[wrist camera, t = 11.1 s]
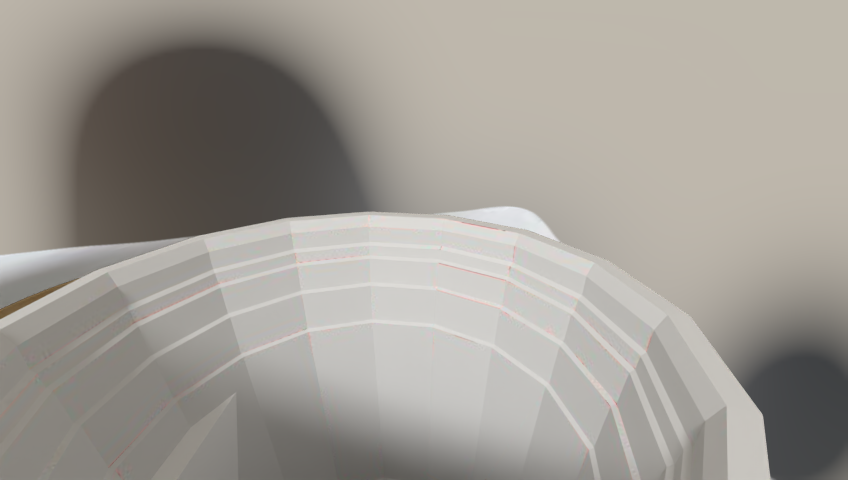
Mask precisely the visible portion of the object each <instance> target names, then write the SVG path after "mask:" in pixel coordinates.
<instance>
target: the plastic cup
mask: <svg viewBox="0 0 848 480" xmlns="http://www.w3.org/2000/svg"><path fill="white" fill-rule="evenodd" d="M234 393H236V402H237V444H238V480H770V473H769V465H768V456H767V447H766V440H765V431H764V422H763V415H762V414H761V412H760V411H759V409H758V408H757V407H756V405H755V404H754V403H753V402H752V400H751V399H750V397H749V396H748V394H747V393H746V392H745V390H744V389H743V388H742V386H741V385H740V384H739V382H738V381H737V379H736V378H735V377H734V375H733V374H732V373H731V371H730V370H729V369H728V367H727V366H726V364H725V363H724V362H723V360H722V359H721V358H720V356H719V355H718V354H717V352H716V351H715V349H714V348H713V347H712V345H711V344H710V343H709V341H708V340H707V338H706V337H705V336H704V335H703V333H702V332H701V330H700V329H699V328H698V326H697V325H696V323H695V322H694V321H693V319H692V318H691V317H690V315H688V314H687V313H685V312H684V311H682V310H681V309H679V308H677V307H676V306H675V305H673V304H672V303H670V302H669V301H667V300H666V299H664V298H663V297H662V296H660V295H659V294H657V293H656V292H654V291H653V290H651V289H650V288H648V287H647V286H645V285H644V284H642V283H641V282H639V281H638V280H636V279H635V278H633V277H632V276H630V275H629V274H627V273H626V272H624V271H623V270H621V269H620V268H618V267H617V266H615V265H614V264H612V263H611V262H609V261H608V260H606V259H603V258H600V257H598V256H595V255H592V254H589V253H587V252H584V251H582V250H579V249H576V248H573V247H571V246H568V245H566V244H563V243H560V242H558V241H555V240H552V239H550V238H547V237H544V236H542V235H539V234H536V233H534V232H531V231H528V230H524V229H519V228H513V227H508V226H503V225H498V224H492V223H487V222H482V221H476V220H471V219H466V218H460V217H455V216H450V215H433V214H411V213H390V212H358V213H345V214H333V215H319V216H306V217H293V218H285V219H280V220H275V221H270V222H265V223H260V224H255V225H250V226H245V227H240V228H235V229H230V230H225V231H220V232H215V233H210V234H205V235H200V236H196V237H193V238H190V239H187V240H184V241H181V242H178V243H175V244H172V245H169V246H166V247H163V248H160V249H157V250H154V251H152V252H149V253H146V254H143V255H140V256H137V257H134V258H131V259H128V260H125V261H122V262H119V263H116V264H113V265H110V266H107V267H104V268H101V269H98V270H95V271H93V272H91V273H89V274H87V275H85V276H84V277H82V278H80V279H78V280H76V281H74V282H72V283H70V284H68V285H66V286H64V287H62V288H60V289H58V290H56V291H54V292H52V293H50V294H49V295H47V296H45V297H43V298H41V299H39V300H37V301H35V302H33V303H31V304H29V305H27V306H25V307H23V308H21V309H19V310H17V311H15V312H14V313H12V314H10V315H8V316H6V317H4V318H2V319H0V480H151V479H152V477H153V476H154V475H155V473H156V472H157V471H158V469H159V468H160V467H161V465H162V464H163V463H164V461H165V460H166V459H167V458H168V456H169V455H170V454H171V452H172V451H173V450H174V448H175V447H176V446H177V444H178V443H179V442H180V440H181V439H182V438H183V437H184V435H185V434H186V433H187V431H188V430H189V429H190V427H192V426H193V425H194V424H196V423H197V422H198V421H199V420H201V419H202V418H203V417H205V416H206V415H207V414H209V413H210V412H211V411H212V410H214V409H215V408H216V407H218V406H219V405H220V404H221V403H223V402H224V401H225V400H227V399H228V398H229V397H230V396H232V395H233V394H234Z"/></svg>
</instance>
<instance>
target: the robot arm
mask: <svg viewBox="0 0 848 480" xmlns="http://www.w3.org/2000/svg"><path fill="white" fill-rule="evenodd" d="M151 480H238V444H237V402H236V393H234V394H233V395H232V396H230V397H229V398H228V399H227V400H225V401H224V402H223V403H221V404H220V405H219V406H218V407H216V408H215V409H214V410H212V411H211V412H210V413H209V414H207V415H206V416H205V417H203V418H202V419H201V420H199V421H198V422H197V423H196V424H194V425H193V426H192V427H190V429H189V430H188V431H187V433H186V434H185V435H184V437H183V438H182V439H181V440H180V442H179V443H178V444H177V446H176V447H175V448H174V450H173V451H172V452H171V454H170V455H169V456H168V458H167V459H166V460H165V461H164V463H163V464H162V465H161V467H160V468H159V469H158V471H157V472H156V473H155V475H154V476H153V477H152V479H151Z"/></svg>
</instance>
